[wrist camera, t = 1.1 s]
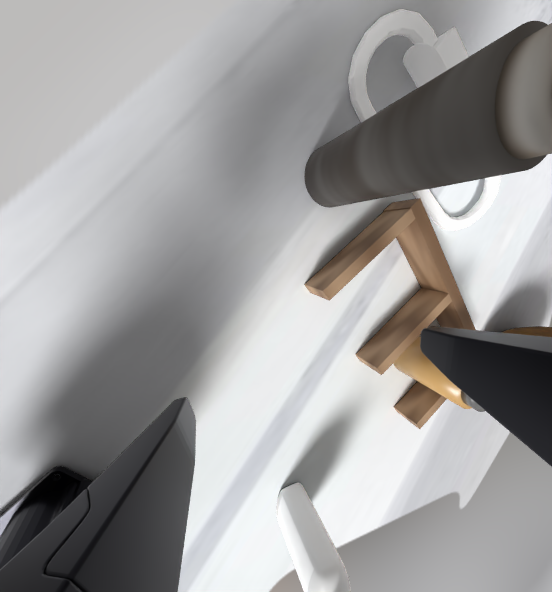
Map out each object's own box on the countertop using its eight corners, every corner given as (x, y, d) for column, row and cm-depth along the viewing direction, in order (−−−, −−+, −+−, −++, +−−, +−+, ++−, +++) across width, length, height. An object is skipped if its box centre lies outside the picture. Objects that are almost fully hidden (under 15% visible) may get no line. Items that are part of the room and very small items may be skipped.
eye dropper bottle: (261, 528, 26) (325, 735, 15) (284, 478, 26) (365, 654, 15) (296, 527, 28) (376, 712, 17) (318, 481, 28) (412, 639, 17)
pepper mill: (324, 218, 22) (617, 182, 7) (293, 168, 20) (601, -7, 6) (362, 185, 22) (698, 92, 8) (336, 133, 21) (709, -104, 6)
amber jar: (403, 378, 29) (478, 425, 22) (386, 354, 28) (463, 395, 20) (428, 351, 30) (510, 388, 23) (414, 325, 28) (498, 356, 21)
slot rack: (397, 412, 30) (420, 429, 27) (303, 283, 22) (322, 290, 19) (459, 345, 32) (486, 355, 29) (391, 202, 24) (420, 198, 21)
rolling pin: (320, 86, 21) (340, 68, 18) (393, -8, 20) (430, -47, 16) (437, 241, 29) (466, 249, 26) (494, 183, 28) (533, 183, 25)
